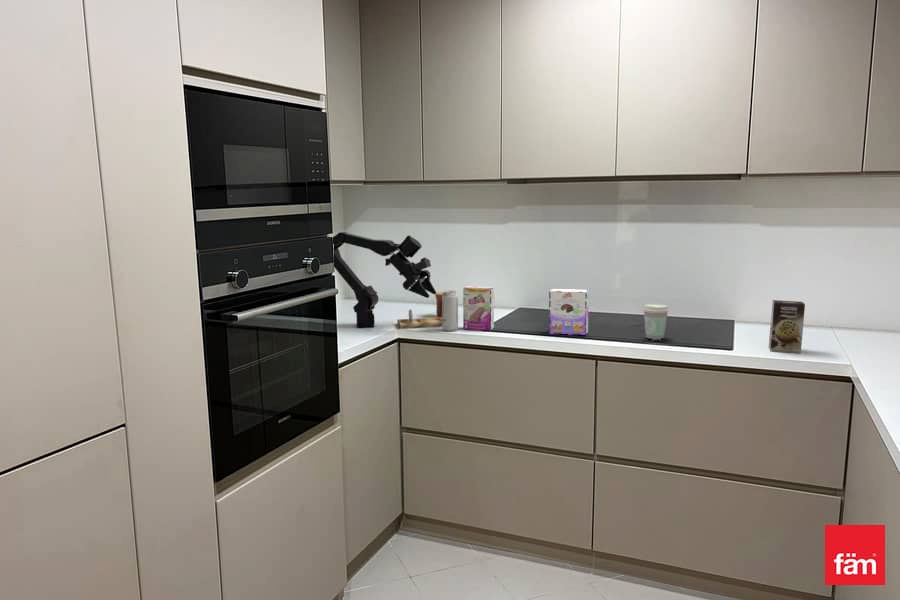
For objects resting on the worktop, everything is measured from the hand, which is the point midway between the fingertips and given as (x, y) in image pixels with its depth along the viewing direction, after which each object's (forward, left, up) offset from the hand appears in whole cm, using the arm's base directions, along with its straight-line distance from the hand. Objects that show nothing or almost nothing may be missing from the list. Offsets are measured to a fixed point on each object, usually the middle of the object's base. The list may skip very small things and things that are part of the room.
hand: (432, 295), depth 252 cm
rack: (-3, +9, -13) cm, 16 cm away
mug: (+10, +22, -13) cm, 28 cm away
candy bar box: (+17, -4, -13) cm, 22 cm away
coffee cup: (+73, -36, -13) cm, 83 cm away
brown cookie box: (+105, -62, -13) cm, 123 cm away
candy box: (+47, -20, -13) cm, 53 cm away
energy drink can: (+6, -3, -13) cm, 15 cm away
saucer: (-7, +9, -13) cm, 17 cm away
